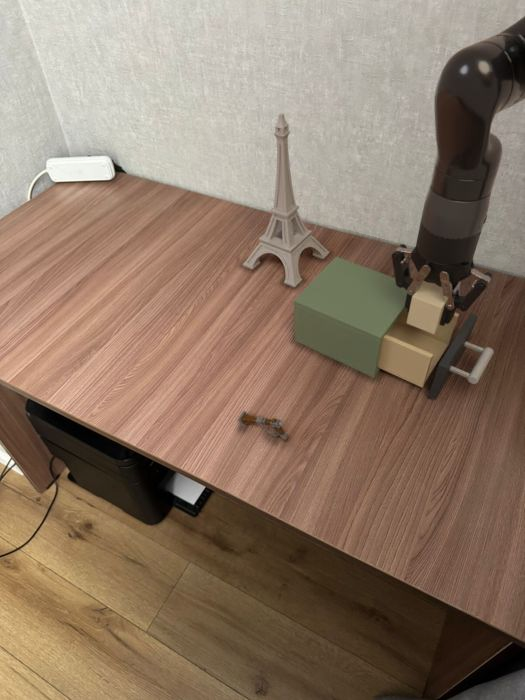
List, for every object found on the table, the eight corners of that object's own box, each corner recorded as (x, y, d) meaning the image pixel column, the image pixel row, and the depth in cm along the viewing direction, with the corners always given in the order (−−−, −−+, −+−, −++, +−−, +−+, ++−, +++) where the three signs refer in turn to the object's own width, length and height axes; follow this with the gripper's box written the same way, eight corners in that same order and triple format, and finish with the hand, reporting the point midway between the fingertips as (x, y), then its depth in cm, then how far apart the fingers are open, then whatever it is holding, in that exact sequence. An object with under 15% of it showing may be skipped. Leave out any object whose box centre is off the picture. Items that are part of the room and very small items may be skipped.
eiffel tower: (242, 265, 103) (225, 121, 80) (278, 234, 109) (272, 93, 87) (294, 287, 97) (291, 138, 74) (329, 252, 103) (336, 107, 81)
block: (446, 316, 75) (454, 289, 71) (434, 334, 72) (442, 307, 68) (418, 306, 77) (424, 279, 73) (406, 323, 74) (412, 296, 70)
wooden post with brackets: (289, 445, 72) (277, 424, 69) (249, 437, 77) (236, 418, 74) (295, 435, 73) (283, 415, 70) (255, 428, 78) (242, 409, 75)
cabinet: (409, 328, 87) (419, 286, 80) (374, 378, 80) (380, 337, 73) (333, 297, 94) (335, 256, 87) (294, 341, 87) (293, 300, 80)
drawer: (491, 359, 80) (506, 326, 74) (463, 412, 73) (476, 380, 68) (386, 317, 88) (392, 284, 82) (352, 361, 82) (356, 328, 76)
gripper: (387, 217, 62) (373, 313, 75) (499, 252, 56) (464, 350, 69) (412, 190, 66) (395, 286, 79) (520, 220, 60) (483, 318, 73)
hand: (427, 315), depth 74 cm, fingers closed on block, 4 cm apart
